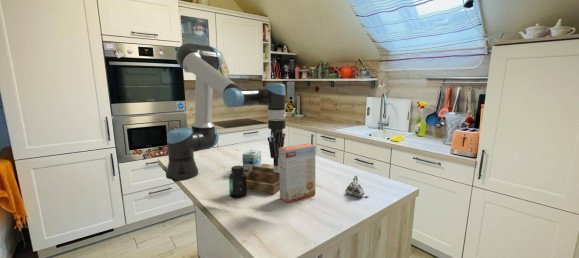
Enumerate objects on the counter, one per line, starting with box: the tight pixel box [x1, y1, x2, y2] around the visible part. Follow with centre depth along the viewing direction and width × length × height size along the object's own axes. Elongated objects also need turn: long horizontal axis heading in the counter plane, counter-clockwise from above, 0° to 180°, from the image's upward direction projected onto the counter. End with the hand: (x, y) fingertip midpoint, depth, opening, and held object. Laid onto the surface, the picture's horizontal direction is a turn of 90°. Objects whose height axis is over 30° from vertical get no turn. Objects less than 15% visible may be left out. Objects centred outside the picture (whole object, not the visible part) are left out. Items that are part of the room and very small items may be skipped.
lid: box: [250, 163, 279, 176], centre depth 128 cm, size 18×12×3 cm, turn 66°
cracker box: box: [279, 143, 316, 203], centre depth 107 cm, size 14×6×21 cm, turn 122°
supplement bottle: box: [228, 165, 248, 199], centre depth 109 cm, size 7×7×12 cm
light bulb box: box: [241, 149, 262, 174], centre depth 139 cm, size 11×7×11 cm, turn 168°
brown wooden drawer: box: [246, 172, 280, 195], centre depth 119 cm, size 18×12×4 cm, turn 66°
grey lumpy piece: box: [344, 175, 370, 198], centre depth 113 cm, size 9×9×8 cm
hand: (277, 172), depth 120 cm, fingers closed
